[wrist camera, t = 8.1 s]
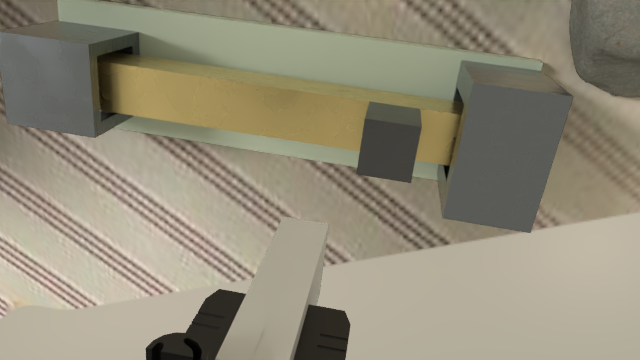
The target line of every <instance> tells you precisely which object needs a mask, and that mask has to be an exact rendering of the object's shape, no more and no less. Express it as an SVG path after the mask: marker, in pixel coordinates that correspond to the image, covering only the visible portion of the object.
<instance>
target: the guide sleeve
mask: <svg viewBox="0 0 640 360" xmlns="http://www.w3.org/2000/svg"><path fill="white" fill-rule="evenodd" d="M112 51H113V52H120V53H127V54H134V55H140V49H139V32H136V31H129V30H122V29H115V28H107V27H100V26H93V25H86V24H79V23H72V22H65V21H54V22H47V23H41V24H35V25H29V26H22V27H16V28H10V29H4V30H0V74H1V81H2V88H3V95H4V102H5V109H6V116H7V123H8V124H14V125H20V126H26V127H32V128H38V129H44V130H50V131H56V132H62V133H69V134H75V135H81V136H87V137H93V138H96V137H97V136H99V135H101V134H103V133H105V132H106V131H108V130H110V129H112V128H114V127H115V126H117V125H119V124H121V123H123V122H125V121H126V120H128V119H130V118H132V117H134V116H133V115H127V114H120V113H114V112H108V111H102V110H100V99H99V83H98V68H97V56H99V55H102V54H106V53H109V52H112Z"/></svg>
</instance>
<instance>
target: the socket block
mask: <svg viewBox="0 0 640 360" xmlns="http://www.w3.org/2000/svg"><path fill="white" fill-rule="evenodd" d="M572 99H573V96H572V95H571V94H569V93H568V92H567V91H566V90H564V89H563V88H562V87H561V86H559V85H558V84H557V83H556V82H554V81H553V80H552V79H551V78H549V77H548V76H547V75H546V74H544V73H543V72H542V71H539V70H532V69H524V68H517V67H510V66H502V65H495V64H488V63H481V62H473V61H466V60H461V64H460V69H459V73H458V78H457V82H456V87H455V92H454V96H453V101H456V102H463V103H464V108H463V112H462V116H461V121H460V125H459V130H458V134H457V138H456V143H455V147H454V151H453V156H452V160H451V165H450V166H449V165H442V164H439V165H438V169H437V180H438V188H439V196H440V203H441V211H442V218H445V219H451V220H457V221H463V222H469V223H475V224H480V225H486V226H492V227H498V228H504V229H510V230H516V231H522V232H528V233H530V232H531V229H532V226H533V223H534V220H535V217H536V214H537V210H538V207H539V204H540V201H541V198H542V194H543V191H544V188H545V185H546V182H547V179H548V175H549V172H550V169H551V166H552V163H553V160H554V156H555V153H556V150H557V147H558V144H559V141H560V137H561V134H562V131H563V128H564V125H565V121H566V118H567V115H568V112H569V109H570V106H571V102H572Z"/></svg>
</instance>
